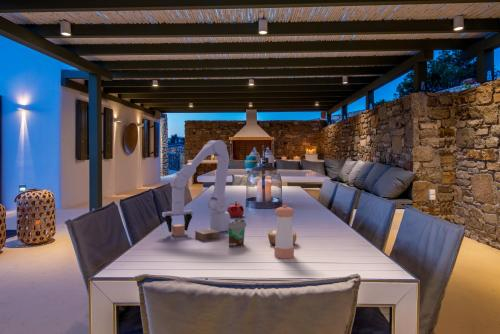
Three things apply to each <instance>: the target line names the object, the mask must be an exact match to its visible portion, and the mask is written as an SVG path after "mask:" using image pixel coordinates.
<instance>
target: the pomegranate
mask: <svg viewBox="0 0 500 334" xmlns="http://www.w3.org/2000/svg"><path fill="white" fill-rule="evenodd" d="M234 202H235V203H233V202H231V203H230V205H229V206H227V209H226V212H228V213H229V214H230V218H241V217H242V216H243V215H244V214H245V208H244V206H243V205H242V204H241V203H239V202H238V200H235V201H234Z"/></svg>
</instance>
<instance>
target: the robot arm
mask: <svg viewBox="0 0 500 334" xmlns="http://www.w3.org/2000/svg"><path fill="white" fill-rule="evenodd" d="M227 147H228V145H227V144H226V142H224V141H223V140H221V139H218V140H209V141H207V142H206V144H204V145H203V147H202V149H200V151H199V152H198V153H197V155H196V156H194V158H193V160H192V161H191V162H190V163H189V162H188V163H186V164H183V165H182V168H181V169H180V170H179V172H176V173H175V175H174V176H172V178H171V179H170V182H169V185H170V186H171V211H169V210H168V211H163V212H161V216H162V217H163V218H164V220H165V222H166V224H167V229H168V232H169V233H172V225H173V218H172V217H176V216H178V217H179V216H183V218H184V220H183V221H184V222H183V223H184V224H183V225H184V226H185V231H186V232H187V231H188V229H189V225H190V222H191V220H192V218H193V215H194V212H195V211H194V209H188V210H187V209H185V187H186V186H187V185H188V184H187V182H188V181H189V180H191V178H193V175H195V173H197V167H199V165H201V163H203V161H204V160H205V159H206V158H207V157H209V156H212V155H213V156H214V158H216V160H217V165H216V172H215V174H216V175H215V179H214V187H213V192H212V194H211V195H210V199H209V200H208V203H207V205H208V208H209V210H210V211H209V227H208V228H206V229H213V230H216V231H218V232H219V233H220V232H229V229H228V223H231V216H230V214H229V213H228V212H227V209H228V202H227V196H226V185H227V179H228V178H227V177H228V171H229V170H228V169H229V163H230V156H229V152H228V149H227Z"/></svg>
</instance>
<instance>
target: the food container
mask: <svg viewBox="0 0 500 334" xmlns="http://www.w3.org/2000/svg"><path fill="white" fill-rule="evenodd" d="M246 227H247V223H246V220H245V219H242V218H237V217H234V221H232V222H230V223H228V229H229V231H228V248H240V247H243V246H244V242H245V231H246Z"/></svg>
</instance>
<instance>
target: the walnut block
mask: <svg viewBox="0 0 500 334" xmlns="http://www.w3.org/2000/svg"><path fill="white" fill-rule="evenodd" d="M194 234H195V236H194V237H195V239H197V240H199V241H201V242H207V241H214V240H215V241H216V240H220V232H218V231H216V230H213V229H207V228H205V229H198V230H197V229H196V230H195V233H194Z"/></svg>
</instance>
